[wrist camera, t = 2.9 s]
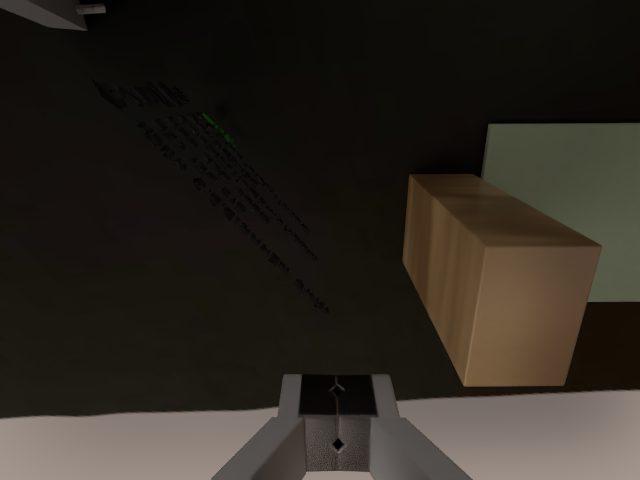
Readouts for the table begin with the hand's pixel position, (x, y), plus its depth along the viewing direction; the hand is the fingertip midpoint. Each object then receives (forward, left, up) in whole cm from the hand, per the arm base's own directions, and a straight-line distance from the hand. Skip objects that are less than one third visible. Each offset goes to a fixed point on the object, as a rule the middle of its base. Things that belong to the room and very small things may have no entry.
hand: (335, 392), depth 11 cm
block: (+7, 0, -15) cm, 17 cm away
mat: (+17, 0, -15) cm, 23 cm away
